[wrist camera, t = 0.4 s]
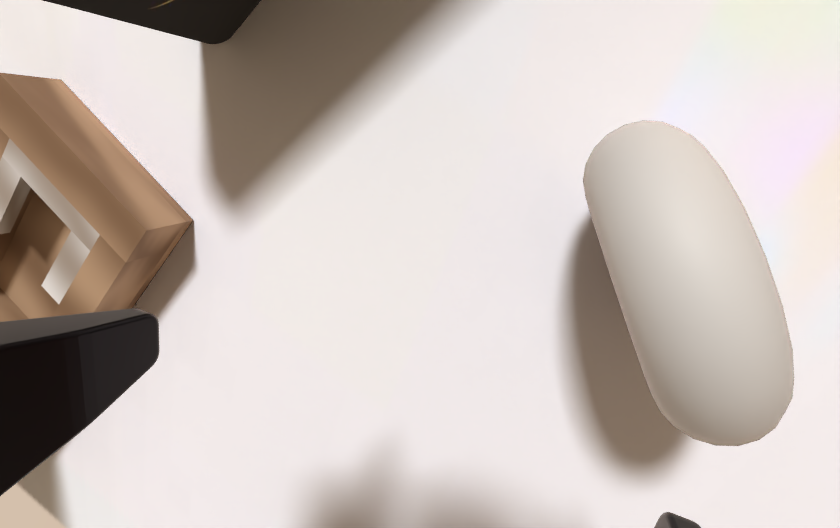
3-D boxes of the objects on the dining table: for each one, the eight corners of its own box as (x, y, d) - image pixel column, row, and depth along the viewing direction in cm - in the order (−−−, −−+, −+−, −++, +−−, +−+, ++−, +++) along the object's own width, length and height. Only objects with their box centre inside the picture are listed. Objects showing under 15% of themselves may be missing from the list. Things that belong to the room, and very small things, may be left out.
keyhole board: (43, 435, 35) (-3, 462, 32) (-52, 331, 35) (-107, 349, 33) (193, 220, 26) (146, 230, 23) (61, 79, 26) (-2, 72, 23)
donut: (566, 145, 19) (567, 152, 10) (655, 109, 18) (752, 80, 9) (639, 359, 20) (700, 542, 11) (726, 340, 19) (876, 530, 10)
